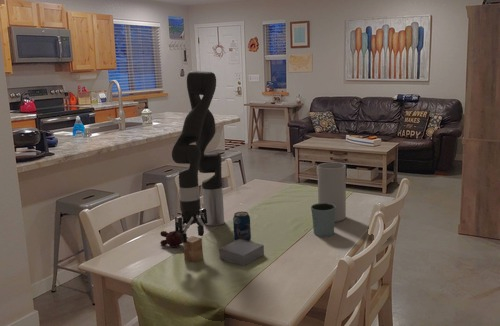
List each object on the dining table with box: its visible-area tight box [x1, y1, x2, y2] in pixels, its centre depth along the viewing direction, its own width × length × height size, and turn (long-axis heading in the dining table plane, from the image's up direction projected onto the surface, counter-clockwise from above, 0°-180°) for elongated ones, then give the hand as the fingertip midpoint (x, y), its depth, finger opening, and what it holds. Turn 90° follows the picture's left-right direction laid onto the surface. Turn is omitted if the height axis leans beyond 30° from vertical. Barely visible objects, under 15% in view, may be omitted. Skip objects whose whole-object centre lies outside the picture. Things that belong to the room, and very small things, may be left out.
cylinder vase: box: [317, 162, 347, 223], centre depth 215 cm, size 12×12×25 cm
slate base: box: [218, 239, 265, 267], centre depth 179 cm, size 12×12×4 cm
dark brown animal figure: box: [159, 230, 189, 248], centre depth 191 cm, size 7×7×15 cm
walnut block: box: [182, 235, 204, 263], centre depth 178 cm, size 5×5×8 cm
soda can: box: [232, 211, 252, 241], centre depth 193 cm, size 7×7×12 cm
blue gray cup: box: [310, 202, 336, 238], centre depth 198 cm, size 10×10×12 cm
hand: (192, 239), depth 177 cm, fingers open, 8 cm apart
